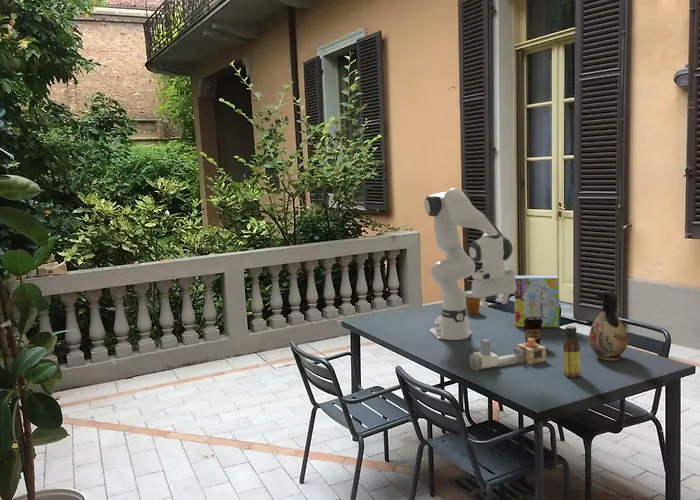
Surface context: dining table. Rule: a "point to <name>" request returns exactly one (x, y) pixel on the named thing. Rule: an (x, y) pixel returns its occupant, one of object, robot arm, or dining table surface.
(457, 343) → the dining table surface
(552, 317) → the snack box
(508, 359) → the rail
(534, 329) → the coffee cup
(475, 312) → the disposable coffee cup
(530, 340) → the button
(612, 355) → the ceramic jug
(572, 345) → the sauce bottle
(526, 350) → the cabinet
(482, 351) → the carriage
